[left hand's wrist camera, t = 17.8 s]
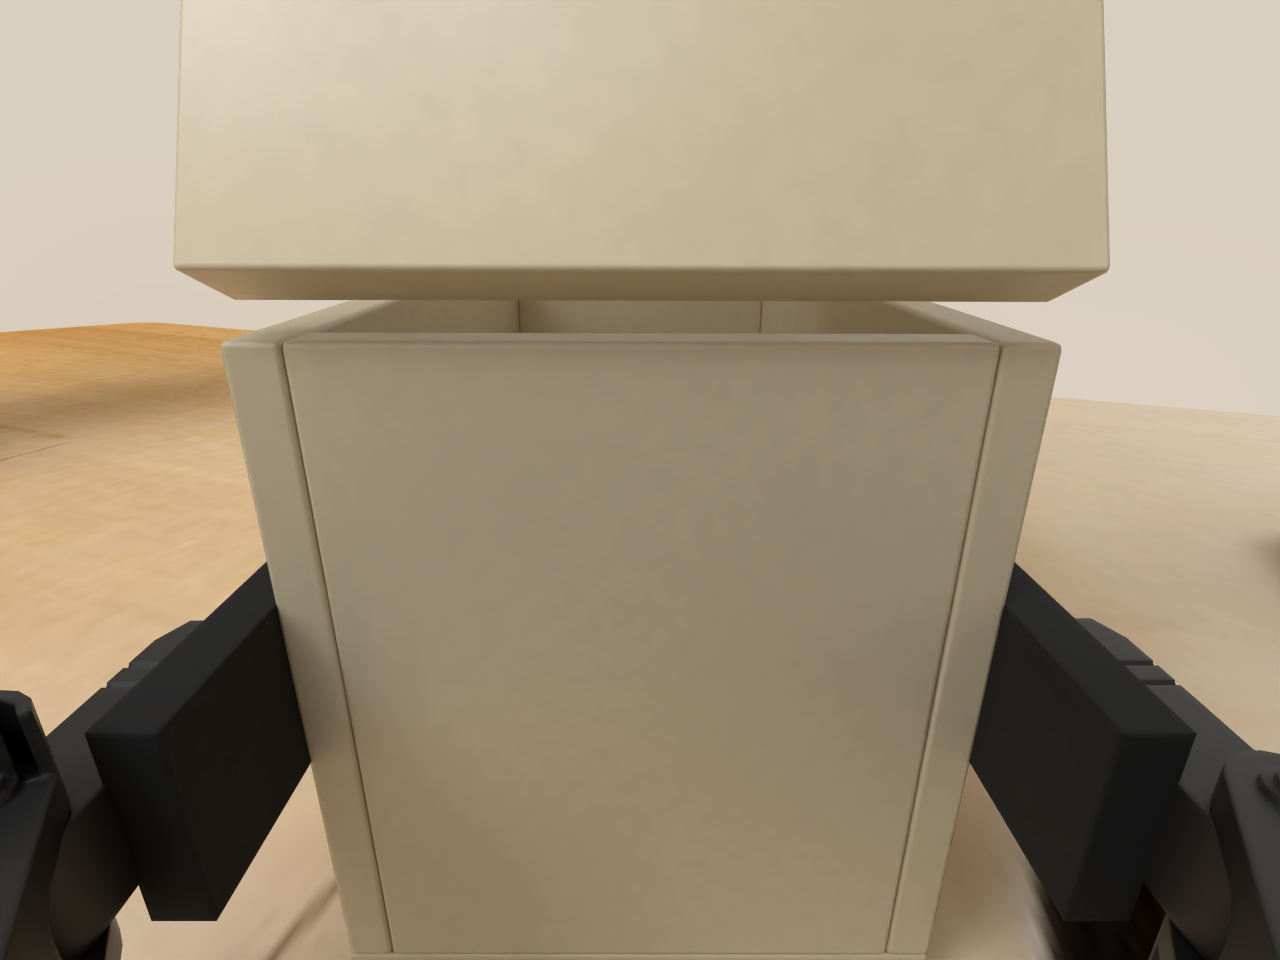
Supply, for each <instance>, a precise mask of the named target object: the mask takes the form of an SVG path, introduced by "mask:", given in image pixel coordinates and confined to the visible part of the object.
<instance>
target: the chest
mask: <svg viewBox="0 0 1280 960" xmlns="http://www.w3.org/2000/svg"><path fill="white" fill-rule="evenodd" d="M221 352H222V356H223V361H224V366H225V370H226V375H227V379H228V384H229V389H230V393H231V398H232V402H233V407H234V412H235V416H236V421H237V426H238V430H239V435H240V439H241V444H242V449H243V453H244V458H245V462H246V467H247V472H248V476H249V481H250V485H251V490H252V495H253V499H254V504H255V509H256V513H257V518H258V522H259V527H260V532H261V536H262V541H263V545H264V550H265V555H266V559H267V564H268V569H269V573H270V578H271V582H272V587H273V592H274V596H275V601H276V605H277V610H278V614H279V619H280V623H281V628H282V633H283V637H284V642H285V646H286V651H287V655H288V660H289V665H290V669H291V674H292V678H293V683H294V687H295V692H296V697H297V701H298V706H299V710H300V715H301V719H302V724H303V728H304V733H305V738H306V742H307V747H308V751H309V756H310V760H311V767H312V772H313V776H314V781H315V785H316V790H317V795H318V799H319V804H320V808H321V813H322V818H323V822H324V827H325V831H326V836H327V841H328V845H329V850H330V855H331V859H332V864H333V868H334V873H335V878H336V882H337V887H338V891H339V896H340V901H341V905H342V910H343V915H344V919H345V924H346V928H347V933H348V938H349V942H350V947H351V951H352V952H353V953H352V959H353V960H926V952H927V950H928V945H929V941H930V936H931V932H932V928H933V923H934V919H935V914H936V910H937V905H938V901H939V896H940V892H941V887H942V883H943V878H944V874H945V869H946V865H947V860H948V856H949V851H950V847H951V843H952V838H953V834H954V829H955V825H956V820H957V816H958V811H959V807H960V802H961V798H962V793H963V789H964V784H965V780H966V775H967V771H968V766H969V762H970V758H971V753H972V748H973V744H974V739H975V735H976V730H977V726H978V721H979V717H980V712H981V708H982V703H983V699H984V694H985V690H986V685H987V681H988V676H989V672H990V667H991V663H992V658H993V653H994V649H995V644H996V640H997V635H998V631H999V626H1000V622H1001V617H1002V613H1003V608H1004V605H1005V601H1006V597H1007V592H1008V588H1009V583H1010V579H1011V574H1012V570H1013V565H1014V561H1015V556H1016V552H1017V547H1018V543H1019V538H1020V534H1021V529H1022V525H1023V520H1024V516H1025V512H1026V507H1027V503H1028V498H1029V494H1030V489H1031V485H1032V480H1033V476H1034V471H1035V467H1036V462H1037V458H1038V453H1039V449H1040V444H1041V440H1042V435H1043V431H1044V427H1045V422H1046V418H1047V413H1048V409H1049V404H1050V400H1051V395H1052V391H1053V386H1054V382H1055V377H1056V373H1057V368H1058V364H1059V359H1060V355H1061V346H1060V345H1059V344H1057V343H1055V342H1052V341H1049V340H1046V339H1043V338H1040V337H1037V336H1034V335H1031V334H1028V333H1024V332H1021V331H1018V330H1015V329H1012V328H1009V327H1006V326H1003V325H1000V324H997V323H994V322H991V321H988V320H984V319H981V318H978V317H975V316H972V315H969V314H966V313H963V312H960V311H957V310H954V309H950V308H947V307H944V306H941V305H938V304H935V303H932V302H929V301H564V300H351V301H348V302H345V303H341V304H338V305H335V306H332V307H329V308H326V309H323V310H320V311H317V312H313V313H310V314H307V315H304V316H301V317H298V318H295V319H292V320H289V321H285V322H282V323H279V324H276V325H273V326H270V327H267V328H264V329H261V330H258V331H254V332H251V333H248V334H245V335H242V336H239V337H236V338H233V339H230V340H227V341H225V342H223V343H222V344H221Z"/></svg>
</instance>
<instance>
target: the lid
mask: <svg viewBox="0 0 1280 960" xmlns="http://www.w3.org/2000/svg"><path fill="white" fill-rule="evenodd" d="M173 264H174V267H175V269H176V270H178V271H180V272H182V273H184V274H186V275H188V276H190V277H192V278H193V279H195V280H197V281H199V282H201V283H203V284H205V285H207V286H209V287H211V288H213V289H215V290H217V291H219V292H221V293H223V294H225V295H227V296H229V297H231V298H233V299H235V300H564V301H939V302H943V301H944V302H1048V301H1050V300H1052V299H1054V298H1056V297H1058V296H1060V295H1062V294H1064V293H1066V292H1068V291H1070V290H1072V289H1074V288H1076V287H1078V286H1080V285H1082V284H1084V283H1086V282H1088V281H1090V280H1092V279H1094V278H1096V277H1098V276H1100V275H1102V274H1104V273H1106V272H1107V271H1108V269H1109V267H1110V257H1109V214H1108V172H1107V130H1106V89H1105V47H1104V5H1103V0H181V11H180V47H179V81H178V117H177V152H176V187H175V223H174V258H173Z"/></svg>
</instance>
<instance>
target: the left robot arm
mask: <svg viewBox="0 0 1280 960" xmlns="http://www.w3.org/2000/svg"><path fill="white" fill-rule="evenodd" d="M310 763H311V760H310V756H309V751H308V747H307V742H306V738H305V733H304V728H303V724H302V719H301V715H300V710H299V706H298V701H297V697H296V692H295V687H294V683H293V678H292V674H291V669H290V665H289V660H288V655H287V651H286V646H285V642H284V637H283V633H282V628H281V623H280V619H279V614H278V610H277V605H276V601H275V596H274V592H273V587H272V582H271V578H270V573H269V569H268V564H267V562H266V563H265V564H264V565H263V566H261V567H260V568H259V569H258V570H257V571H256V572H255V573H254V574H253V575H252V576H251V577H250V578H249V579H248V580H247V581H246V582H244V583H243V584H242V585H241V586H240V587H239V588H238V589H237V590H236V591H235V592H234V593H233V594H232V595H231V596H230V597H229V598H227V599H226V600H225V601H224V602H223V603H222V604H221V605H220V606H219V607H218V608H217V609H216V610H215V611H214V612H213V613H212V614H210V615H209V616H208V617H207V618H206V619H205V620H204V621H189V622H187V623H186V624H184V625H182V626H180V627H178V628H177V629H175V630H173V631H171V632H169V633H167V634H166V635H164V636H162V637H160V638H158V639H156V640H155V641H154V642H152V643H151V644H150V645H149V646H148V647H147V648H146V649H145V650H143V651H142V652H141V653H140V654H139V655H138V656H137V657H136V658H134V659H133V660H132V661H131V662H130V663H129V667H128V668H123V669H122V670H121V671H120V672H119V673H118V674H116V675H115V676H114V677H113V678H112V679H111V680H110V681H108V682H107V687H106V688H101V689H99V690H98V691H97V692H96V693H95V694H94V695H93V696H92V697H90V698H89V699H88V700H87V701H86V702H85V703H84V704H83V705H81V706H80V707H79V708H78V709H77V710H76V711H75V712H74V713H72V714H71V715H70V716H69V717H68V718H67V719H66V720H64V721H63V722H62V723H61V724H60V725H59V726H58V727H57V728H55V729H54V730H53V731H52V732H51V733H50V734H49V735H48V736H45V734H44V731H43V728H42V726H41V723H40V721H39V718H38V715H37V713H36V710H35V708H34V705H33V702H32V700H31V698H29V697H28V696H26V695H24V694H22V693H21V692H19V691H5V690H0V960H121V952H122V939H121V933H120V928H119V926H118V923H117V920H116V918H115V916H116V915H117V913H118V912H119V911H120V909H121V908H122V907H123V905H124V904H125V902H126V901H127V900H128V898H129V897H130V896H131V894H132V893H133V892H134V890H135V889H136V888H137V886H138V885H139V887H140V890H141V893H142V896H143V898H144V901H145V904H146V907H147V910H148V912H149V915H150V918H151V921H217V919H218V918H219V916H220V914H221V913H222V911H223V909H224V908H225V906H226V904H227V903H228V901H229V899H230V898H231V896H232V894H233V893H234V891H235V889H236V888H237V886H238V884H239V883H240V881H241V879H242V877H243V876H244V874H245V872H246V871H247V869H248V867H249V866H250V864H251V862H252V861H253V859H254V857H255V856H256V854H257V852H258V851H259V849H260V847H261V846H262V844H263V842H264V841H265V839H266V837H267V836H268V834H269V832H270V830H271V829H272V827H273V825H274V824H275V822H276V820H277V819H278V817H279V815H280V814H281V812H282V810H283V809H284V807H285V805H286V804H287V802H288V800H289V799H290V797H291V795H292V794H293V792H294V790H295V788H296V787H297V785H298V783H299V782H300V780H301V778H302V777H303V775H304V773H305V772H306V770H307V768H308V767H309V765H310ZM970 764H971V765H972V767H973V769H974V770H975V772H976V774H977V775H978V777H979V779H980V781H981V782H982V784H983V786H984V787H985V789H986V791H987V792H988V794H989V796H990V797H991V799H992V801H993V802H994V804H995V806H996V807H997V809H998V811H999V812H1000V814H1001V816H1002V817H1003V819H1004V821H1005V822H1006V824H1007V826H1008V828H1009V829H1010V831H1011V833H1012V834H1013V836H1014V838H1015V839H1016V841H1017V843H1018V844H1019V846H1020V848H1021V849H1022V851H1023V853H1024V854H1025V856H1026V858H1027V859H1028V861H1029V863H1030V864H1031V866H1032V868H1033V869H1034V871H1035V873H1036V875H1037V876H1038V878H1039V880H1040V881H1041V883H1042V885H1043V886H1044V888H1045V890H1046V891H1047V893H1048V895H1049V896H1050V898H1051V900H1052V901H1053V903H1054V905H1055V906H1056V908H1057V910H1058V911H1059V913H1060V915H1061V916H1062V918H1063V920H1064V921H1130V918H1131V915H1132V912H1133V909H1134V907H1135V904H1136V901H1137V898H1138V896H1139V893H1140V890H1141V887H1142V884H1143V883H1144V884H1145V885H1146V887H1147V888H1148V889H1149V891H1150V892H1151V893H1152V895H1153V896H1154V897H1155V899H1156V900H1157V901H1158V903H1159V904H1160V906H1161V907H1162V908H1163V910H1164V911H1165V912H1166V915H1165V918H1164V920H1163V923H1162V926H1161V928H1160V931H1159V933H1158V936H1157V939H1156V941H1155V944H1154V946H1153V949H1152V952H1151V954H1150V957H1149V959H1148V960H1280V754H1277V753H1271V752H1266V751H1261V750H1258V751H1255V750H1253V749H1252V748H1251V747H1250V746H1249V745H1248V744H1247V743H1245V742H1244V741H1243V740H1242V739H1241V738H1240V737H1239V736H1238V735H1236V734H1235V733H1234V732H1233V731H1232V730H1231V729H1230V728H1228V727H1227V726H1226V725H1225V724H1224V723H1223V722H1222V721H1220V720H1219V719H1218V718H1217V717H1216V716H1215V715H1214V714H1213V713H1211V712H1210V711H1209V710H1208V709H1207V708H1206V707H1205V706H1203V705H1202V704H1201V703H1200V702H1199V701H1198V700H1197V699H1195V698H1194V697H1193V696H1192V695H1191V694H1190V693H1189V692H1188V691H1186V690H1185V689H1184V688H1183V687H1182V686H1181V685H1175V680H1174V679H1173V678H1172V677H1170V676H1169V675H1168V674H1167V673H1166V672H1165V671H1164V670H1163V669H1161V668H1160V667H1159V666H1154V665H1153V661H1152V660H1151V659H1150V658H1149V657H1148V656H1147V655H1145V654H1144V653H1143V652H1142V651H1141V650H1140V649H1139V648H1137V647H1136V646H1135V645H1134V644H1133V643H1132V642H1131V641H1130V640H1128V639H1127V638H1126V637H1124V636H1122V635H1120V634H1118V633H1117V632H1115V631H1113V630H1111V629H1109V628H1107V627H1106V626H1104V625H1102V624H1100V623H1098V622H1096V621H1095V620H1093V619H1075V618H1074V617H1072V616H1071V615H1070V614H1069V613H1068V612H1067V611H1066V610H1065V609H1064V608H1063V607H1062V606H1061V605H1060V604H1059V603H1058V602H1057V601H1055V600H1054V599H1053V598H1052V597H1051V596H1050V595H1049V594H1048V593H1047V592H1046V591H1045V590H1044V589H1043V588H1042V587H1041V586H1040V585H1038V584H1037V583H1036V582H1035V581H1034V580H1033V579H1032V578H1031V577H1030V576H1029V575H1028V574H1027V573H1026V572H1025V571H1024V570H1023V569H1021V568H1020V567H1019V566H1018V565H1017V564H1016V563H1015V562H1014V565H1013V570H1012V574H1011V579H1010V583H1009V588H1008V592H1007V597H1006V601H1005V605H1004V608H1003V613H1002V617H1001V622H1000V626H999V631H998V635H997V640H996V644H995V649H994V653H993V658H992V663H991V667H990V672H989V676H988V681H987V685H986V690H985V694H984V699H983V703H982V708H981V712H980V717H979V721H978V726H977V730H976V735H975V739H974V744H973V748H972V753H971V758H970Z"/></svg>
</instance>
